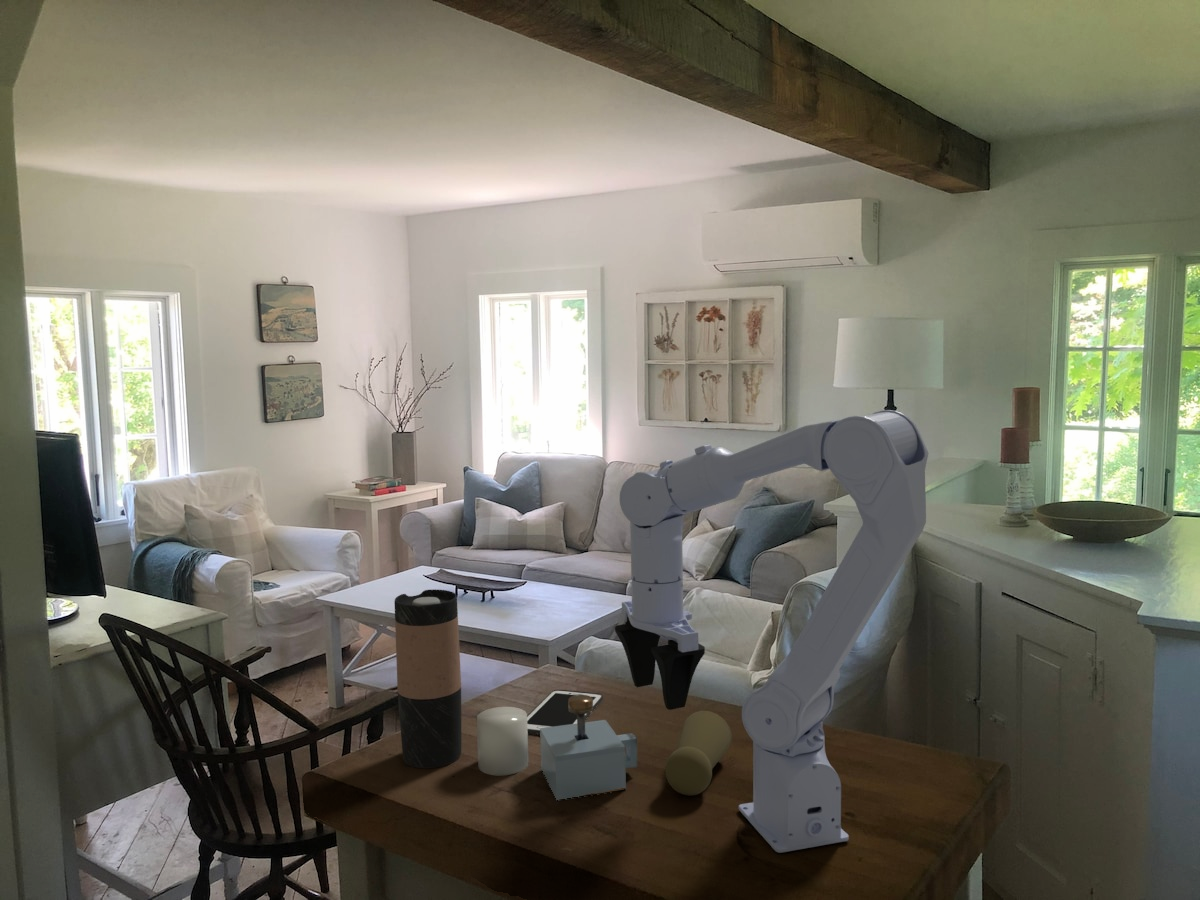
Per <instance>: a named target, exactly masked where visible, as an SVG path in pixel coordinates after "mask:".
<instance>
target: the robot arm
mask: <svg viewBox="0 0 1200 900" xmlns="http://www.w3.org/2000/svg"><path fill="white" fill-rule="evenodd" d="M694 452H695V454H693V455H691V456H687V457H684V458H682V459H680V460H677V461H675V462H673V460H672V459H669V460H665V461H662V462H660V463H659V469H656V470H652V471H647V472H645V471H638V472H635V473H634V474H633V475H632V476H630V477H629V478H627V479H626V480H625V481H624V483H623V484H622V486H621V488H620V491H619V505H620V509H621V511H622V513H623V515H624V517H625V518H626V519H627V520H628V521H629V522H630V525H629V527H630V528H629V529H630V532H629V533H630V568H631V569H630V572H631V573H630V575H631V600H628V601H622V602H621V618H622V619H623V620H625V623H623V624H618V625H616V626H614V631H615V634H616V636H617V637H618V639H619V640H620V642H621V645H622V647H623V650H624V652H625V655H626V659H627V663H628V665H629V669H630V675H631V678H632V682H633V684H634V687H636V688H641V687H647V686H652V685H653V683H654V679H655V675H656V674H655V672H656V664H657V668H658V672H659V675H660V679H661V680H660V681H661V688H662V696H663V701H664V706H665V709H667V710H669V711H671V710H676V709H682V708H685V707H686V704H687V700H688V695H689V691H690V688H691V684H692V680H693V677H694V674H695V671H696V669H697V667H698V665H699V663H700V662H701V660H702V658H703V657H704V655H705V653H706V652H705V651H706V648H705V646H704V645H702V644H701V643H699V632H698V631H697V630H695V628H693V627H692V626H691V623H690V622H689V621H691V620H692V619H693V613H692V612H690V611H688V610H685V609H684V575H683V574H684V572H683V568H684V566H683V565H684V564H683V560H684V559H683V529H684V518H685V515H687V514H692V513H695V512H697V511H700V510H704V509H707V508H709V507H713V506H716V505H718V504H722V503H725V502H728V501H732V500H734V499H737V498H738V497H739V495H740V494H741V492H742V489H743V487H744V485H745V483H746V482H747V481H752V480H754V479H757V478H761V477H763V476H764V477H765V476H767V475H771V474H774V473H777V472H781V471H783V470H788V469H790V468H794V467H797V466H800V465H801V466H802V465H807V466H808V467H811V468H813V469H815V470H816V471H819V472H824V471H826V470H830V472H831V473H832V474H833V476H834V477H835V479H836V480H837V482H839V484H841V487H843V488H844V490H845V491H846V492H847V493H848V495H849V496H850V497H851V499H852V500H853V501H854V503H855V505H856V508H857V510H858V513H859V516H860V517H861V520H862V525H861V527H860V528H859V531H858V532H857V534H856V535H855V537H854V539H853V541H852V543H851V544H850V546H849V548H848V549H847V551H846V553H845V555H844V556H843V559H842V560H841V562H840V564H839V565H838V567H837V569H836V570H835V572H834V573H833V576H832V577H831V579H830V581H829V583H828V584H827V586H826V588H825V589H824V592H823V593H822V595H821V597H820V599H819V601H818V602H817V604H816V606H815V607H814V608H813V610H812V613H811V614H810V616H809V618H808V620H807V621H806V623H805V625H804V627H803V628H802V630H801V631H800V633H799V635H798V637H797V638H796V641H795V642H794V644H793V645H792V647H791V649H790V651H789V653H788V654H787V655H786V656H785V657H784V659H783V660H782V661H781V662H780V663H779V664H778V666H776V667H775V669H773V671H772V672H771V673H770V675H769V676H768V679H767V680H766V681H765V683H764V684H763V685H762V686H761V687H759V688H757V689H755V690H754V691H752V692H750V693H749V694H748V695H747V697H746V698H745V700H744V702H743V704H742V708H741V722H742V723H743V728H744V729H745V731H746V734H748V736H749V738H750V739H751V740H752V741H753V742H752V750H753V751H752V752H753V753H752V761H753V762H752V765H753V766H752V770H753V771H752V773H753V774H752V775H753V776H752V777H753V779H752V782H753V785H752V786H753V787H752V788H753V790H752V791H753V792H752V793H753V794H752V795H753V797H752V800H753V801H752V802H747V803H746V802H745V803H741V804H739V805H738V810H739V811H740V813H741V814H742V816H744V817H745V818H746V819H747V821H748V822H749V823H750V824H751V825H752V826H753V827H754V829H755V830H756V831H757V832H758V833H759V834H760V836H762V838H763V839H764V840H765V841H766V842H767V843H768V844H769V846H771V848H772V850H774V852H776V853H778V854H781V853H787V852H793V851H798V850H804V849H808V848H815V847H821V846H822V847H823V846H825V845H826V846H827V845H832V844H837V843H843V842H848V841H849V839H850V835H849V834H848V833H847V832H846V831H844V829H842V821H841V820H842V784H841V779H840V776H839V774H838V773H837V771H836V770H835V768H834V767H833V766H832V764H830V762H829V760H828V757H827V754H826V747H825V746H826V745H825V741H826V740H825V731H824V728H823V727H824V726H823V723H824V722H823V720H824V719H825V718H827V717H828V715H829V714H830V713H831V711H832V709H833V706H834V703H835V702H834V698H835V697H834V695H835V694H834V692H835V687H836V685H837V683H838V681H839V680H840V678H841V672H840V668H841V667H842V665H843V664H844V663H845V661H846V659H847V657H848V655H849V653H850V652H851V651H852V649H853V647H854V645H855V644H856V642H857V640H858V638H859V637H860V635H861V634H862V632H863V630H864V629H865V627H866V626H867V624H868V622H869V620H870V619H871V617H872V616H873V614H874V613H875V611H876V609H877V607H878V605H879V604H880V603H881V601H882V599H883V597H884V595H885V594H886V592H887V591H888V589H889V587H890V585H891V584H892V582H893V581H894V579H895V578H896V575H897V573H898V572H899V570H900V569H901V567H902V566H903V564H904V562H905V561H906V559H907V557H908V556H909V554H910V552H911V550H912V549H913V548H914V546H915V544H916V542H917V541H918V538H919V537H920V535H921V534H922V533H923V531H924V528H925V525H926V522H927V501H926V500H927V499H926V498H927V497H926V493H927V492H926V467H927V466H926V465H927V461H928V458H929V451H928V449H927V446H926V444H925V442H924V440H923V438H922V436H921V433H920V430H919V429H918V427H917V425H916V424H915V422H914V421H913V420H912V419H911V418H910V417H909V416H907V415H906V414H904V413H902V412H900V411H897V410H891V409H884V410H878V411H875V412H873V413H872V414H867V415H853V416H848V417H845V418H841V419H835V420H829V421H825V422H824V421H823V422H818V423H817V422H816V423H813V424H808V425H804V426H802V427H798V428H796V429H793V430H792V431H788V432H785V433H783V434H780V435H778V436H775V437H773V438H771V439H769V440H766V441H763V442H761V443H758V444H755V445H753V446H750V447H748V448H746V449H743V450H740V451H737V452H733V451H731V450H729V449H728V448H725V447H722V446H715V447H712V445H711V444H705V445H701V446H698V447H696V448H694ZM661 638H663V639H664V640H667V644H663V645H659V641H660V639H661Z"/></svg>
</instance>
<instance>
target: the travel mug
mask: <svg viewBox="0 0 1200 900" xmlns="http://www.w3.org/2000/svg"><path fill="white" fill-rule="evenodd" d="M458 614H459V612H458V598H457V594H456V593H455V592H454V591H450V590H445V589H424V590H423V591H422V592H421V593H420V594H416V595H411V596H410V595H407V594H406V593H401V594H399V595H398V596H396V597H395V598H394V626H395V627H394V628H395V656H396V658H395V659H396V680H397V681H396V685H397V699H398V700H397V702H398V713H399V727H400V738H401V749H402V750H401V751H402V758H403V759H402V760H403V762H404V763H405V764H406V765H408V766H409V767H412V768H418V769H435V768H441V767H445V766H447V765H450V764H452V763H455V762H457V760H458V759H460V757H461V755H462V675H461V655H460V653H461V652H460V635H459V633H460V632H459V616H458Z"/></svg>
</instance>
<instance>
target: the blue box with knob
mask: <svg viewBox="0 0 1200 900" xmlns="http://www.w3.org/2000/svg"><path fill="white" fill-rule="evenodd" d="M539 736H540V738H539V739H540V767H541V769H540V770H541V772H542V771H543V772H542V774H543V776H544V775H545V776H544V778H545V777H546V778H545V780H546V779H547V780H546V782H547V784H548V783H549V784H548V787H549V788H551V789H550V790H552V791H551V792H553V793H552V794H554V795H553V796H555V797H554V799H555V798H556V799H555V800H556V802H557V800H558V801H560V800H559V799H565V800H568V799H567V798H571V799H573V798H572V797H578V798H580V797H579V796H582V795H586V794H591V793H598V792H605V791H610V790H614V789H621V788H626V789H627V784H626V782H627V781H626V780H627V779H626V778H627V777H626V775H627V774H626V773H627V772H626V769H630V768H631V769H632V768H637V767H638V738H637V736H635V735H634V733H633V732H632V733H631V732H630V733H624V734H618V735H617V734H616V732H615V731H614V729H613V728H612V727H611V725H610V724H609V722H607V720H606V719H601V720H595V721H593V720H592V721H585V739H584V740H578V734H577V724H569V725H562V726H554V727H546V728H540V735H539Z"/></svg>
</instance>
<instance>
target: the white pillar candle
mask: <svg viewBox="0 0 1200 900" xmlns="http://www.w3.org/2000/svg"><path fill="white" fill-rule="evenodd" d="M527 715H528V713H527V711H525V710H524V709H522V708H518V707H514V706H497V707H492V708H488V709H486V710H482V711H481V712H480V713H478V714H477V716H476V731H477V733H476V734H477V737H476V738H477V760H478V763H477V764H478V766H477V767H478V769H479V770H480V771H481V772H482V773H483V774H487V775H491V776H501V777H502V776H509V775H510V776H511V775H515V774H518V773H521V772H522V771H524V770H525V769H527V767H528V766H529V764H528V763H529V738H528V737H529V733H528V728H527ZM523 769H524V770H523Z"/></svg>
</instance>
